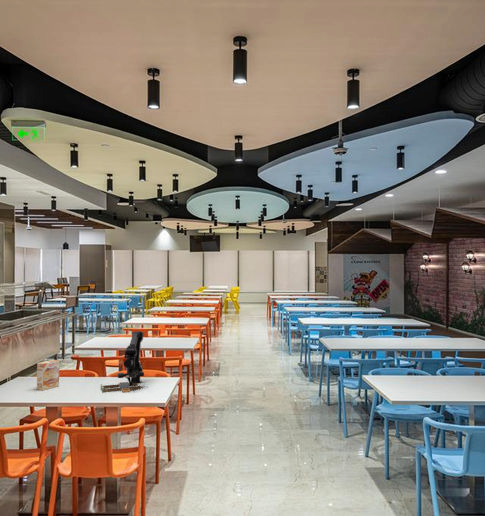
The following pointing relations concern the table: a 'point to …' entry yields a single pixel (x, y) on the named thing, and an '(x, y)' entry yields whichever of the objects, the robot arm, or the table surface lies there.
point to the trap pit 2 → (126, 390)
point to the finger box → (117, 388)
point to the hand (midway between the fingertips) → (130, 386)
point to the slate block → (124, 385)
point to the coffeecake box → (47, 374)
